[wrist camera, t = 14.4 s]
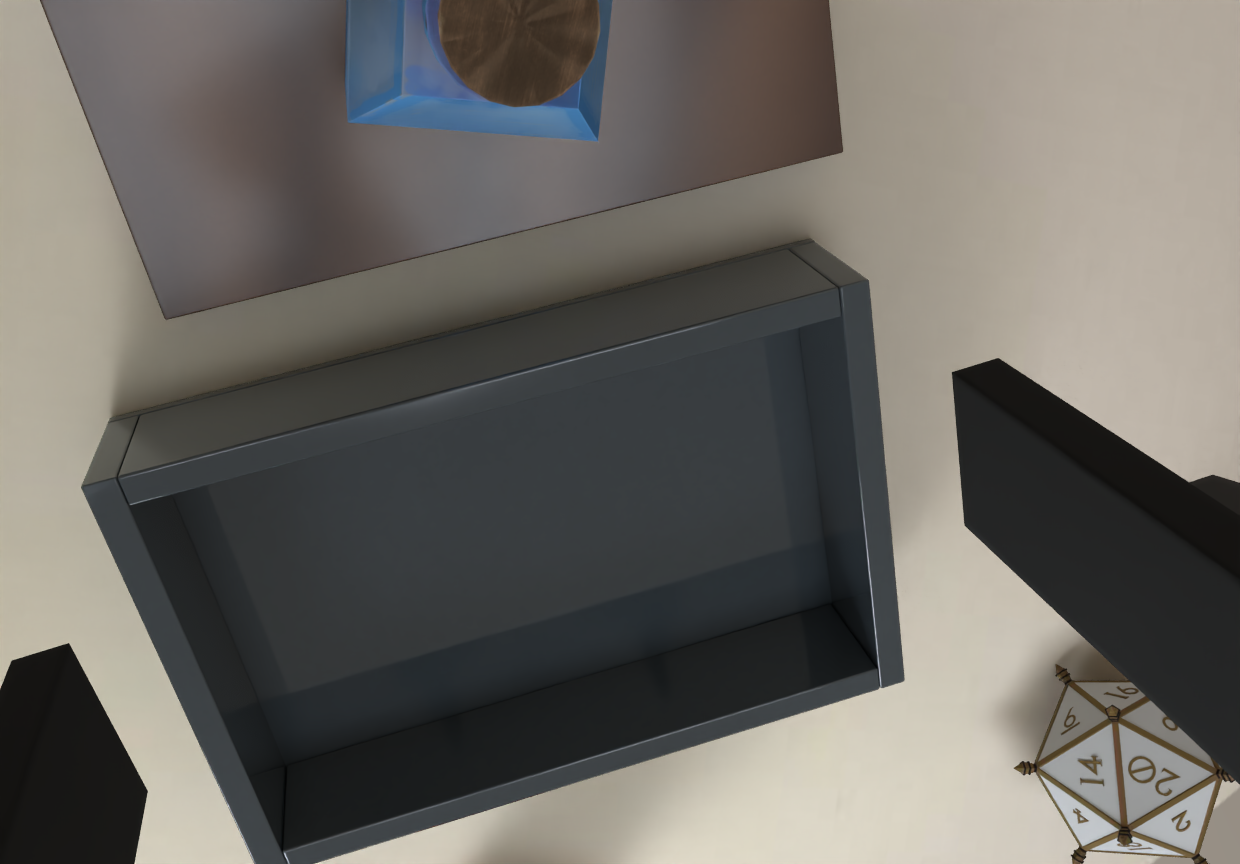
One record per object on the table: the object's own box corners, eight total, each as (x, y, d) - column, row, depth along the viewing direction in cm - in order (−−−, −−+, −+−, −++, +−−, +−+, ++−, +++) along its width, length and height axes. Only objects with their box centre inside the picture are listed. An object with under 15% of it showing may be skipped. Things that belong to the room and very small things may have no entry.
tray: (268, 784, 44) (261, 881, 40) (109, 417, 37) (80, 487, 33) (852, 609, 47) (905, 682, 43) (811, 237, 40) (870, 279, 35)
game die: (994, 678, 56) (959, 814, 47) (1134, 580, 51) (1123, 711, 42) (1134, 807, 55) (1124, 968, 47) (1289, 721, 50) (1308, 882, 42)
